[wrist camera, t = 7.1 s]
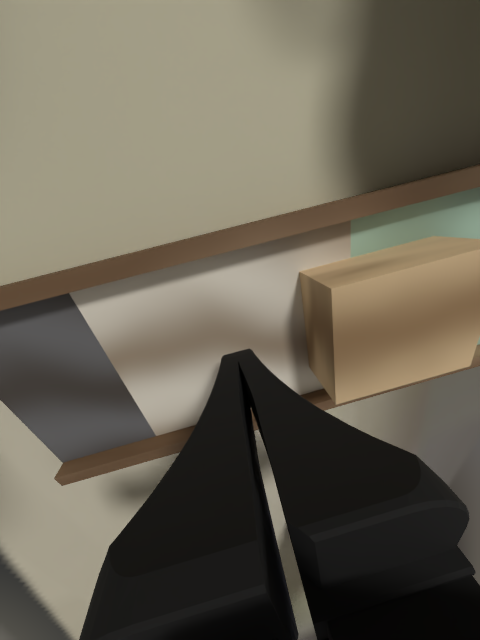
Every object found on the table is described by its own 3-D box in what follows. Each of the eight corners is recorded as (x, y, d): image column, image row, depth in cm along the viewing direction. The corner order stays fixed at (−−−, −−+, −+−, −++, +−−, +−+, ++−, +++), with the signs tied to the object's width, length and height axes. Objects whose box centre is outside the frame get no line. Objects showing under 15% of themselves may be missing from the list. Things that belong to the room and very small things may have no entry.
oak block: (417, 336, 13) (470, 366, 11) (309, 367, 13) (335, 404, 10) (433, 235, 11) (509, 241, 8) (299, 271, 11) (331, 288, 8)
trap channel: (548, 330, 15) (574, 338, 14) (73, 465, 14) (61, 485, 13) (646, 121, 10) (699, 109, 9) (-81, 306, 9) (-119, 318, 8)
